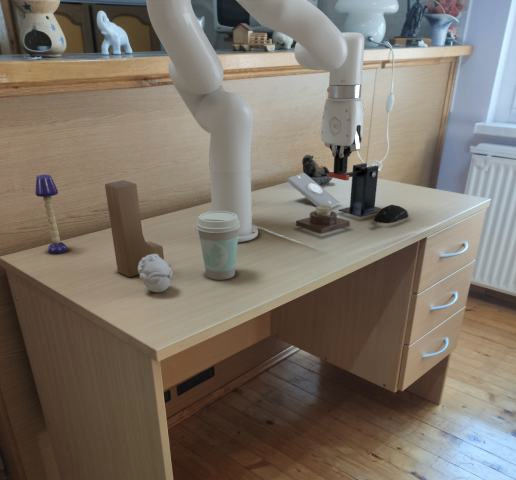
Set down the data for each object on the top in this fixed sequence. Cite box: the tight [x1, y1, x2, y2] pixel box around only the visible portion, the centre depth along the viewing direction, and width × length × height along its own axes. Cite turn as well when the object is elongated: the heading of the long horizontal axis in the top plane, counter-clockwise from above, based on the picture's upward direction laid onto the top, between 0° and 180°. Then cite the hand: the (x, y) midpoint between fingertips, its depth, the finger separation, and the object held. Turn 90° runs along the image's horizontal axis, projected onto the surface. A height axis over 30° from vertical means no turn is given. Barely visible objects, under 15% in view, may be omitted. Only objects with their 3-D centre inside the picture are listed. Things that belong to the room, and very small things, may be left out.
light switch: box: [286, 172, 341, 207], centre depth 153 cm, size 8×6×14 cm
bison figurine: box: [301, 154, 333, 186], centre depth 172 cm, size 12×7×10 cm, turn 130°
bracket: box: [338, 162, 383, 218], centre depth 142 cm, size 10×8×13 cm
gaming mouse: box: [373, 204, 409, 224], centre depth 138 cm, size 6×15×4 cm, turn 138°
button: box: [315, 205, 332, 216], centre depth 131 cm, size 4×4×2 cm
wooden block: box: [104, 180, 165, 278], centre depth 107 cm, size 9×4×18 cm, turn 135°
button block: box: [295, 210, 351, 235], centre depth 133 cm, size 10×9×4 cm
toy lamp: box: [34, 174, 69, 255], centre depth 118 cm, size 5×5×17 cm
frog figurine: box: [138, 254, 174, 293], centre depth 100 cm, size 6×7×7 cm
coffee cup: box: [195, 211, 240, 281], centre depth 105 cm, size 8×9×12 cm
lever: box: [329, 167, 365, 182], centre depth 137 cm, size 12×6×2 cm, turn 129°
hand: (340, 173), depth 134 cm, fingers closed
